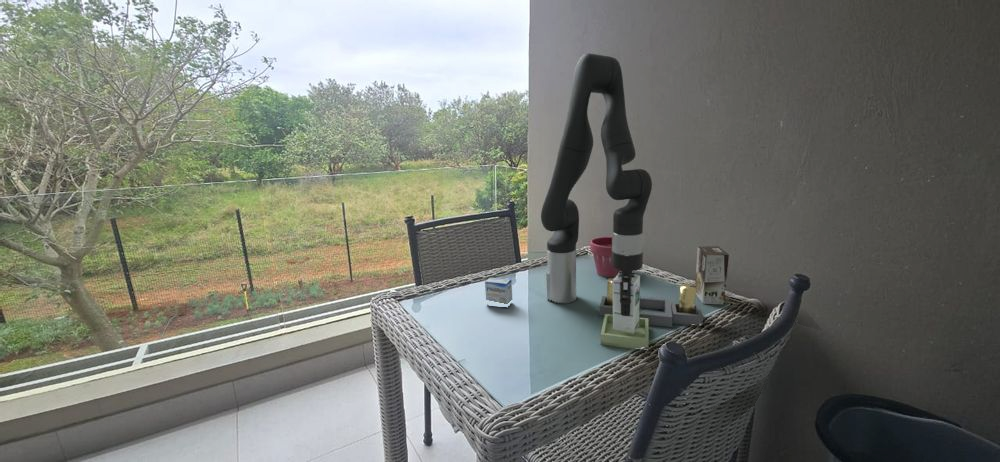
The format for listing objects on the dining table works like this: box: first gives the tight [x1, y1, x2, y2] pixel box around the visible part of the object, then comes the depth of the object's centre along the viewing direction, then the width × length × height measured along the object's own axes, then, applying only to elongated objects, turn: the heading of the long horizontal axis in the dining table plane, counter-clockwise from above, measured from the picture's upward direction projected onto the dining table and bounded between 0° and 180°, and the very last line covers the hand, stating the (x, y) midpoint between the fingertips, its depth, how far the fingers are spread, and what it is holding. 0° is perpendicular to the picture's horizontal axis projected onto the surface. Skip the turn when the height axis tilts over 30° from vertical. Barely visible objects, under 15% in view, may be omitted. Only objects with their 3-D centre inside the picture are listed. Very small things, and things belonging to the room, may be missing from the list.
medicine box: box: [484, 277, 513, 304], centre depth 125 cm, size 8×4×9 cm, turn 68°
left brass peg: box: [606, 277, 615, 306], centre depth 115 cm, size 4×4×10 cm
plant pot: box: [589, 236, 622, 278], centre depth 145 cm, size 14×14×13 cm
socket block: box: [599, 295, 704, 328], centre depth 113 cm, size 28×12×3 cm, turn 69°
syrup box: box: [613, 273, 641, 334], centre depth 100 cm, size 6×6×14 cm
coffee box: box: [694, 245, 730, 305], centre depth 119 cm, size 9×6×16 cm
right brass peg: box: [678, 283, 697, 314], centre depth 108 cm, size 4×4×10 cm
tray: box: [600, 314, 650, 350], centre depth 102 cm, size 12×12×3 cm
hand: (625, 309), depth 100 cm, fingers closed on syrup box, 6 cm apart
